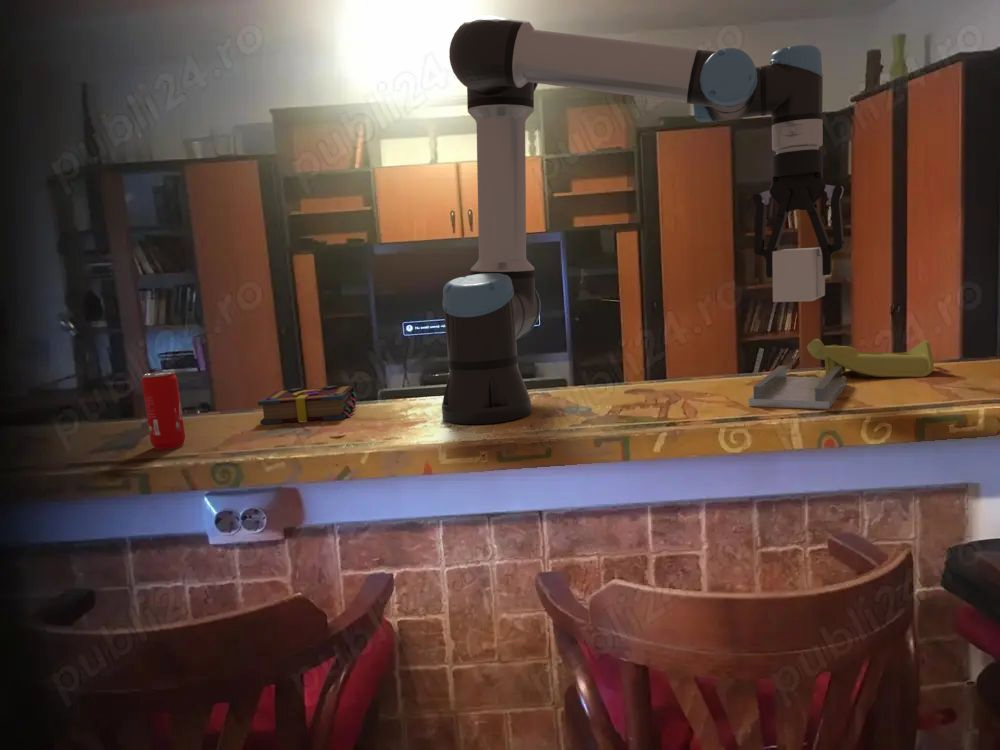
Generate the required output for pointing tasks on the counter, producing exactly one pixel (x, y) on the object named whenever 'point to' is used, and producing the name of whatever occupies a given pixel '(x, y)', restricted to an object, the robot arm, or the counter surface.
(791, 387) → the grey channel bracket
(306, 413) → the decorative book
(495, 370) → the robot arm
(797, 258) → the block
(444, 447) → the counter surface
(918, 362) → the plastic component
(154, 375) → the beverage can
